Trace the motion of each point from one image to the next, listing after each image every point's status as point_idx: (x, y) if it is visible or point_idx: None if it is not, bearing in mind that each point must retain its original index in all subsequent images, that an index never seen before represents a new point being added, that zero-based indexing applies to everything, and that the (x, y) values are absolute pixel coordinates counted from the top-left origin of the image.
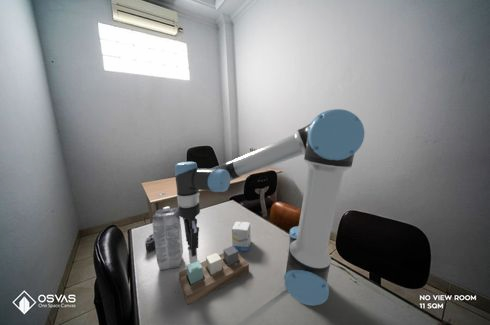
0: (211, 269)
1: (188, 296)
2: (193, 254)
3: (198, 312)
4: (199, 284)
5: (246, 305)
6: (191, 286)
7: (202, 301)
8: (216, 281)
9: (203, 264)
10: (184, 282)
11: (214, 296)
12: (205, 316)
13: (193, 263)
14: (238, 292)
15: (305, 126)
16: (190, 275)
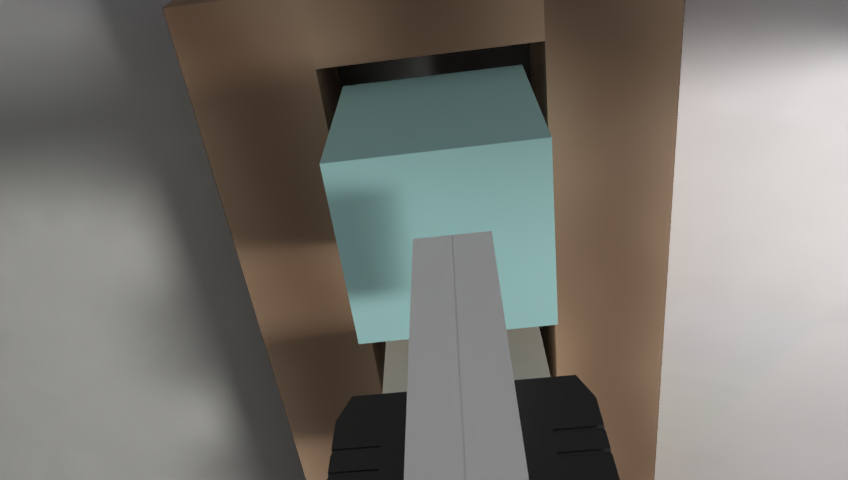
0: (386, 377)
1: (173, 25)
2: (334, 465)
3: (72, 77)
4: (290, 184)
5: (41, 429)
6: (301, 88)
7: (189, 137)
8: (268, 346)
9: (609, 287)
10: (418, 6)
11: (207, 250)
12: (13, 130)
13: (523, 245)
14: (177, 421)
15: None
16: (327, 145)
